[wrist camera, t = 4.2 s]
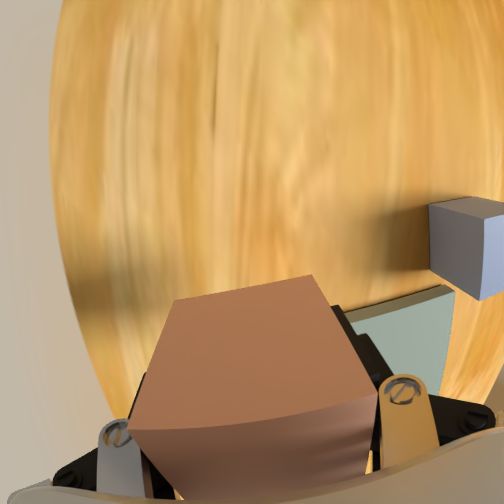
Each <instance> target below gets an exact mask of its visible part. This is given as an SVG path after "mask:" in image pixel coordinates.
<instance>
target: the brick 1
mask: <svg viewBox="0 0 504 504" xmlns="http://www.w3.org/2000/svg"><path fill="white" fill-rule="evenodd" d="M377 396H378V392H377V390H376V389H375V387H374V385H373V383H372V381H371V379H370V377H369V375H368V374H367V372H366V370H365V368H364V366H363V364H362V362H361V361H360V359H359V357H358V355H357V353H356V351H355V350H354V348H353V346H352V344H351V342H350V341H349V339H348V337H347V335H346V333H345V332H344V330H343V328H342V326H341V325H340V323H339V321H338V319H337V317H336V316H335V314H334V312H333V310H332V309H331V307H330V305H329V303H328V302H327V300H326V298H325V297H324V295H323V293H322V291H321V290H320V288H319V286H318V284H317V283H316V281H315V279H314V278H313V276H312V275H307V276H302V277H297V278H293V279H288V280H283V281H278V282H273V283H268V284H262V285H257V286H252V287H247V288H242V289H236V290H231V291H226V292H220V293H215V294H209V295H204V296H198V297H192V298H186V299H181V300H175V301H174V303H173V305H172V308H171V310H170V313H169V315H168V318H167V320H166V323H165V325H164V328H163V330H162V333H161V335H160V338H159V341H158V343H157V346H156V348H155V351H154V354H153V356H152V359H151V361H150V364H149V367H148V369H147V372H146V375H145V378H144V380H143V383H142V386H141V389H140V391H139V394H138V397H137V400H136V403H135V405H134V408H133V411H132V414H131V417H130V420H129V423H128V426H127V431H128V432H129V434H130V435H131V436H132V438H133V439H134V440H135V442H136V443H137V444H138V446H139V447H140V448H141V450H142V451H143V452H144V454H145V455H146V456H147V457H148V459H149V460H150V461H151V462H152V464H153V465H154V466H155V467H156V468H157V470H158V471H159V472H160V473H161V474H162V475H163V477H164V478H165V479H166V480H167V481H168V482H169V483H170V485H171V486H172V487H173V488H174V489H175V490H176V491H177V492H178V493H179V494H180V495H181V497H182V498H183V499H184V500H225V499H241V498H252V497H261V496H269V495H277V494H283V493H290V492H295V491H301V490H306V489H311V488H316V487H321V486H325V485H329V484H334V483H338V482H341V481H345V480H349V479H352V478H356V477H359V476H363V475H365V472H366V467H367V462H368V457H369V451H370V445H371V440H372V433H373V427H374V420H375V412H376V405H377Z"/></svg>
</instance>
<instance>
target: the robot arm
mask: <svg viewBox="0 0 504 504" xmlns="http://www.w3.org/2000/svg"><path fill="white" fill-rule="evenodd" d="M330 307H331V309H332V310H333V312H334V314H335V316H336V317H337V319H338V321H339V323H340V325H341V326H342V328H343V330H344V332H345V333H346V335H347V337H348V339H349V341H350V342H351V344H352V346H353V348H354V350H355V351H356V353H357V355H358V357H359V359H360V361H361V362H362V364H363V366H364V368H365V370H366V372H367V374H368V375H369V377H370V379H371V381H372V383H373V385H374V387H375V389H376V390H377V392H378V396H377V405H376V412H375V420H374V427H373V433H372V440H371V445H370V450H371V473H369V474H366V475H363V476H359V477H356V478H352V479H349V480H345V481H341V482H338V483H334V484H329V485H325V486H321V487H316V488H311V489H306V490H301V491H295V492H290V493H283V494H277V495H269V496H261V497H252V498H241V499H225V500H181V499H180V494H179V493H178V492H177V491H176V490H175V489H174V488H173V487H172V486H171V485H170V483H169V482H168V481H167V480H166V479H165V478H164V477H163V475H162V474H161V473H160V472H159V471H158V470H157V468H156V467H155V466H154V465H153V464H152V462H151V461H150V460H149V459H148V457H147V456H146V455H145V454H144V452H143V451H142V450H141V448H140V447H139V446H138V444H137V443H136V442H135V440H134V439H133V438H132V436H131V435H130V434H129V432H128V431H127V426H128V423H129V420H130V417H131V414H132V411H133V408H134V405H135V403H136V400H137V397H138V394H139V391H140V389H141V386H142V383H143V380H144V378H145V375H146V372H145V373H144V375H143V378H142V380H141V383H140V386H139V388H138V391H137V394H136V397H135V399H134V402H133V405H132V408H131V410H130V413H129V416H128V419H125V418H124V419H117V420H114V421H112V422H110V423H108V424H107V425H106V426H105V427H103V429H102V430H101V432H100V435H99V442H98V448H96V449H94V450H92V451H91V452H89V453H87V454H85V455H84V456H82V457H81V458H79V459H77V460H75V461H73V462H71V463H70V464H68V465H66V466H64V467H62V468H61V469H60V470H58V471H57V473H56V474H55V476H54V478H53V481H51V480H50V479H47V480H45V481H42V482H39V483H37V484H34V485H31V486H29V487H26V488H23V489H20V490H18V491H15V492H14V493H12V494H11V495H10V496H9V498H8V501H7V504H504V411H501V410H499V412H498V414H494V413H493V412H492V410H491V409H490V408H488V407H486V406H485V405H482V404H477V403H472V402H466V401H461V400H456V399H450V398H446V397H441V396H436V395H431V394H428V393H427V389H426V386H425V384H424V382H423V381H422V380H421V379H420V378H418V377H416V376H414V375H409V374H398V375H394V374H393V372H392V370H391V369H390V367H389V366H388V364H387V363H386V361H385V360H384V358H383V356H382V355H381V353H380V352H379V350H378V349H377V347H376V346H375V344H374V343H373V341H372V340H371V338H370V337H369V335H368V334H367V333H363V334H359V335H357V334H356V332H355V330H354V329H353V327H352V326H351V324H350V322H349V321H348V319H347V318H346V316H345V314H344V313H343V311H342V310H341V308H340V306H339V305H334V306H330Z"/></svg>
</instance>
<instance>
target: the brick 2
mask: <svg viewBox="0 0 504 504" xmlns="http://www.w3.org/2000/svg"><path fill="white" fill-rule="evenodd" d="M428 209H429V227H430V271H432V272H434V273H435V274H437V275H439V276H440V277H442V278H443V279H445V280H447V281H448V282H450V283H451V284H453V285H455V286H456V287H458V288H459V289H461V290H463V291H464V292H466V293H467V294H469V295H470V296H472V297H474V298H475V299H477V300H478V301H481V300H483V299H486V298H488V297H490V296H493V295H495V294H497V293H499V292H501V291H504V203H503V202H498V201H493V200H489V199H484V198H479V197H468V198H462V199H457V200H451V201H445V202H439V203H433V204H428Z"/></svg>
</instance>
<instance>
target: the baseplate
mask: <svg viewBox="0 0 504 504" xmlns="http://www.w3.org/2000/svg"><path fill="white" fill-rule="evenodd" d="M454 300H455V291H454V290H453V289H451V288H450V287H448V286H446V285H445V284H444V285H441V286H438V287H435V288H432V289H429V290H425V291H422V292H419V293H416V294H412V295H409V296H406V297H402V298H399V299H395V300H392V301H388V302H385V303H381V304H378V305H374V306H370V307H367V308H363V309H359V310H355V311H351V312H347V313H344V314H345V316H346V318H347V319H348V321H349V322H350V324H351V326H352V327H353V329H354V330H355V332H356V334H357V335H359V334H363V333H367V334H368V335H369V337H370V338H371V340H372V341H373V343H374V344H375V346H376V347H377V349H378V350H379V352H380V353H381V355H382V356H383V358H384V360H385V361H386V363H387V364H388V366H389V367H390V369H391V370H392V372H393V374H394V375H398V374H409V375H414V376H416V377H418V378H420V379H421V380H422V381H423V382H424V384H425V386H426V389H427V393H428V394H431V395H436V396H438V395H439V390H440V386H441V382H442V378H443V373H444V368H445V363H446V358H447V352H448V346H449V340H450V334H451V327H452V319H453V310H454Z"/></svg>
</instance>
